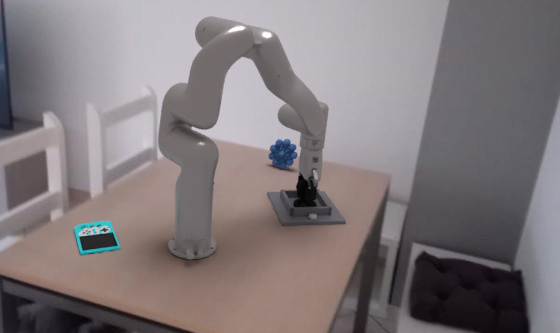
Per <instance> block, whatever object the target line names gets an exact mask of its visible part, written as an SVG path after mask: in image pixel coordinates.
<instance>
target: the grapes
mask: <svg viewBox="0 0 560 333" xmlns="http://www.w3.org/2000/svg"><path fill="white" fill-rule="evenodd" d="M291 143H292V142H291V139H288V138H285V139H284V140H282V139H281V138H278V139H277V140H276V141H275V144H272V145H270V146H269V151H270V152H269V154H268V159H269V160H270V161H272V162H271V165H272V166H274V167H279V169H281V170H284V169H285V168H286V167H287V166H288V167H291V166H293V165H294V160H296V159H297V158H298V152H297V151H296V150H297V145H296V144H294V143H292V144H291Z"/></svg>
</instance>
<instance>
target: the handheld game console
mask: <svg viewBox="0 0 560 333" xmlns="http://www.w3.org/2000/svg"><path fill="white" fill-rule="evenodd" d="M73 232H74V235H75V238H76V239H75V240H76V243H77V247H78V251H80V252H79V255H80V256H86V255H94V254H99V253H107V252H114V251H119V250H121V245H120V243H119V240H118V238H117V234H116V233H115V230H114V228H113V225H112V222H111V221H110V220H102V221H100V220H99V221H94V222H85V223H80V224H77V225H75V226H74V228H73Z"/></svg>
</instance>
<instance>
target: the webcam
mask: <svg viewBox="0 0 560 333" xmlns="http://www.w3.org/2000/svg"><path fill="white" fill-rule="evenodd" d="M309 179H310V178H309ZM311 183H313V181H310V185H311ZM295 188H296V189H297V195H298V197H299V199H296V200H295V201H294V203H293V205H294V206H295V207H317V203H316V202H315V201H313V200H306V199H305V197H306V189H307V188H308V184H307V180H305V179H304V178H303V179H301V180H299V181H298V180H297V183H296V185H295ZM301 202H302V203H303V204H305V206H302V205H299V204H298V203H301Z"/></svg>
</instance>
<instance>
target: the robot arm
mask: <svg viewBox="0 0 560 333" xmlns="http://www.w3.org/2000/svg"><path fill="white" fill-rule="evenodd" d="M194 31H195V32H194V36H195V40H196V42H197V44H198V46H199V47H200V48H201V49H200V50H199V51H198V52H197V54H196V55H195V57H194V58H193V59H192V63H191V66H190V69H189V73H188V74H189V76H188V79H187V82H177V83H175V84H173V85H171V87H169V89H168V90H167V91H166V93H165V95H164V96H163V98H162V99H163V100H162V102H161V103H162V105H161V111H160V119H159V126H158V135H157V145H158V149H159V152H160V154H161V155H163V157H164V158H166V159H167V160H170V161H171V162H173V163H174V164H176V165H178V166H179V167H180V172H179V175H178V176H177V179H176V182H175V189H174V190H175V192H174V195H175V197H174V198H175V199H174V200H175V202H174V203H175V204H174V236H172V237H171V238H170V240H169V241H168V243H167V244H168V246H167V247H168V250H169V252H170V253H171V254H173V255H174V256H176V257H177V258H181V259H187V260H198V259H199V260H200V259H204V258H207V257H210V256H211V255H213V254H214V253H215V251H217V241H216V240H215V239H214V238H213V237H212V223H213V221H212V220H213V204H214V202H213V200H214V185H215V182H214V181H215V176H216V175H215V174H216V171H217V167H218V162H219V159H220V158H219V157H220V152H219V148H218V146H217V144H216V142H214V140H212V139H211V138H210V137H209V136H207V135H205V134H202V133H201V132H198V131H197V130H194V129H192V127H193V128H195V129H199V130H203V131H205V130H211V129H212V128H214V126H216V124H217V122H218V121H219V116H220V112H221V105H222V99H223V93H224V86H225V80H226V76H227V74H228V72H229V70H230V69H231V67H232V66H234V64H235V63H236V62H237V61H239V60H240V59H242V58H244V59H245V58H246V59H249V60H251V61H252V62H253V64H254V65H255V67H256V69H257V71H258V74H259V76H260V78H261V80H262V81H263V83H264V86H265V88H266V89H267V90H268V91H269V92H270V93H272V95H274V96H275V97H276V98H278V99H279V100H282V102H284V103H285V104H283V105H282V106H280V108H279V109H278V111H277V120H278V122H279V123H280V124H281V125H282V126H283V127H284V128H288V129H290V130H293V131H295V132H297V133H300V137H299V145H298V146H299V147H300V153H299V162H298V177H297V182H298V181H299V180H301V179H303V178H304V179H305V180H307V184H308V188H307V189H306V197H305V199H306V200H316V193H317V189H318V186H319V182H320V181H321V180H322V175H323V174H322V173H323V172H322V170H323V150H324V148H325V141H326V134H327V126H328V118H329V111H330V110H329V106H328V104H327V103H326V102H323V101H320V100H318V99H317V97H316V95H315V93H313V92H312V90H311V89H310V88H309V87H308V86H307V85H306V84H305V82H303V81H302V79H301V78H300V77H298V75H297V74H296V73H295V72H294V69H293V68H292V65H291V62H290V60H289V59H288V56H287V54H286V51H285V49H284V46H283V44H282V42H281V40H280V38H279V36H278V35H277V34H276V33H275V32H274V31H272V30H271V29H268V28H263V27H259V26H255V25H254V26H253V25H250V24H246V23H243V22H239V21H236V20H233V19H227V18H222V17H217V16H211V15H210V16H207V17H203V18H202V19H200V21H199V22H198V23H197V25H196V26H195V29H194ZM309 178H310V179H309ZM310 181H313V183H311V185H310Z"/></svg>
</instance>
